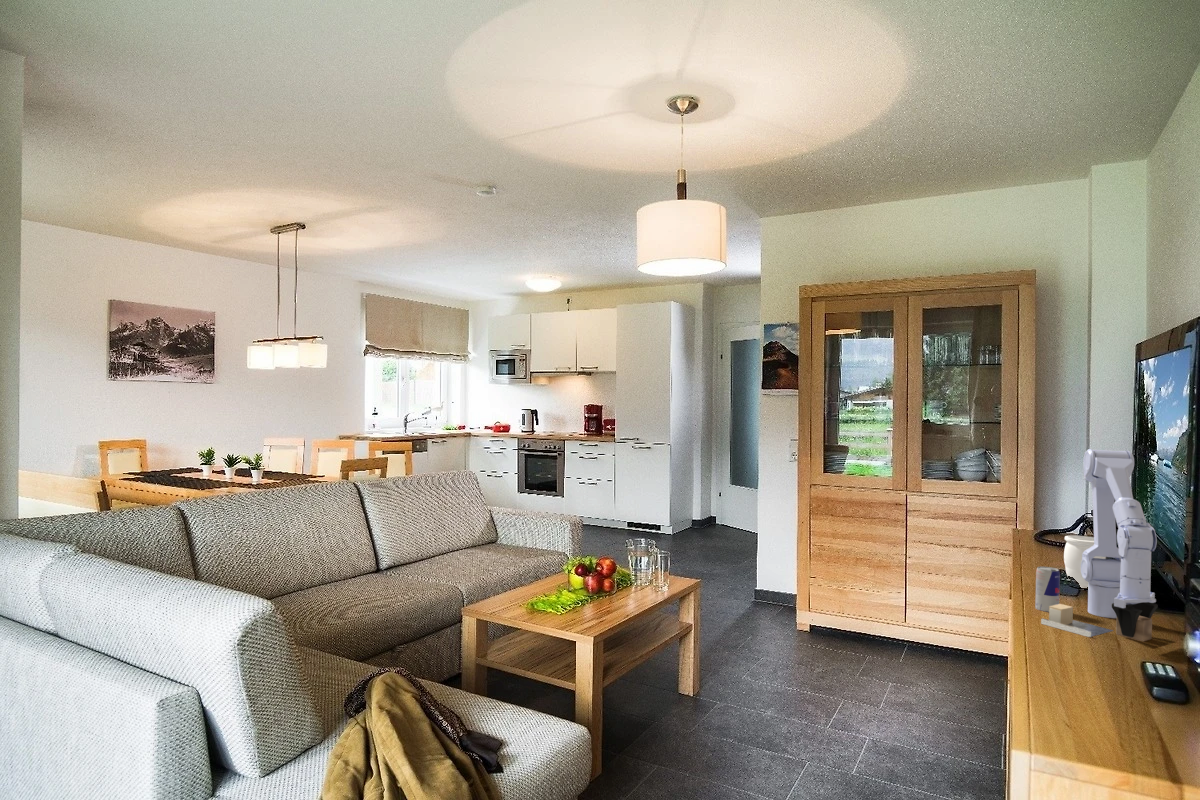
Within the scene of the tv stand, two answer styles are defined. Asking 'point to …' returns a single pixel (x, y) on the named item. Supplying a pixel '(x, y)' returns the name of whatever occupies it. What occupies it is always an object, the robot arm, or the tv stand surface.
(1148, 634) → the brown thick square block
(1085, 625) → the shelf board
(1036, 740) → the tv stand surface
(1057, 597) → the energy drink
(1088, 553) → the robot arm
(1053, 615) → the beige rectangular block
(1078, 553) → the jar
